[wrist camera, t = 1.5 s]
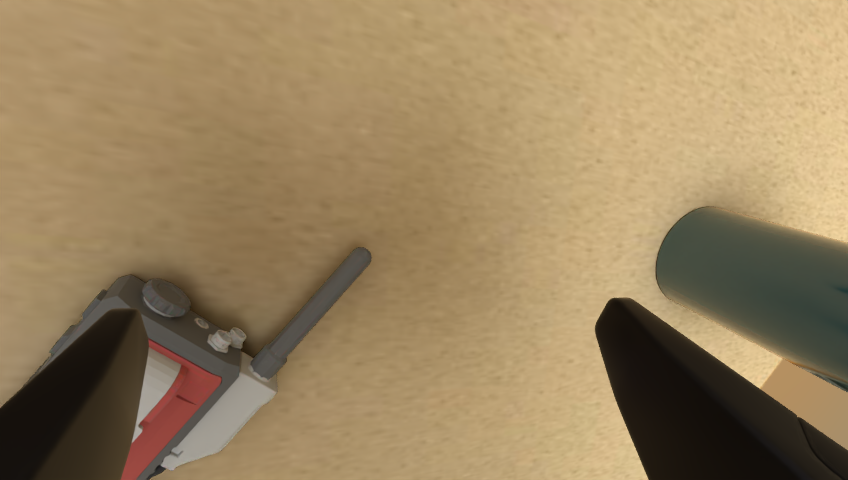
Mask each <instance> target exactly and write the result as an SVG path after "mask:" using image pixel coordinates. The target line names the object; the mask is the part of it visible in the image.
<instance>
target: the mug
mask: <svg viewBox="0 0 848 480" xmlns="http://www.w3.org/2000/svg"><path fill="white" fill-rule="evenodd" d="M656 275H657V281H658V284H659V287H660V289H661V290H662V292H663V293H664V294H665V296H666V297H668V298H669V299H670V300H672V301H674V302H676V303H678V304H680V305H682V306H684V307H686V308H687V309H689V310H691V311H693V312H695V313H697V314H699V315H701V316H703V317H705V318H707V319H708V320H710V321H712V322H714V323H716V324H718V325H720V326H722V327H724V328H726V329H728V330H729V331H731V332H733V333H735V334H737V335H739V336H741V337H743V338H745V339H747V340H749V341H750V342H752V343H754V344H756V345H758V346H760V347H762V348H764V349H766V350H768V351H770V352H771V353H773V354H775V355H777V356H779V357H781V358H783V359H785V360H787V361H789V362H791V363H792V364H795V365H796V366H798V367H800V368H802V369H804V370H806V371H808V372H810V373H812V374H814V375H816V376H817V377H819V378H821V379H823V380H825V381H827V382H829V383H831V384H833V385H835V386H836V387H838V388H840V389H842V390H844V391H846V392H848V243H847V242H844V241H840V240H836V239H832V238H829V237H825V236H821V235H818V234H814V233H810V232H807V231H803V230H799V229H795V228H792V227H788V226H784V225H781V224H777V223H773V222H770V221H766V220H762V219H758V218H755V217H751V216H747V215H744V214H740V213H736V212H733V211H729V210H725V209H721V208H717V207H703V208H699V209H696V210H694V211H692V212H690V213H689V214H687V215H685V216H684V217H683V218H682V219H680V220H679V221H678V222H677V223H676V224H675V225H674V227H673V228H672V229H671V230H670V232H669V233H668V234H667V236H666V238H665V240H664V241H663V244H662V246H661V248H660V251H659V254H658V259H657V265H656Z"/></svg>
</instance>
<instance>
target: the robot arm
mask: <svg viewBox="0 0 848 480" xmlns="http://www.w3.org/2000/svg"><path fill="white" fill-rule="evenodd" d="M595 333H596V337H597V341H598V344H599V347H600V351H601V354H602V357H603V361H604V364H605V367H606V371H607V374H608V377H609V380H610V384H611V387H612V390H613V393H614V396H615V399H616V402H617V404H618V407H619V409H620V412H621V414H622V417H623V419H624V422H625V424H626V426H627V429H628V431H629V434H630V436H631V438H632V441H633V443H634V446H635V448H636V450H637V453H638V455H639V458H640V460H641V462H642V465H643V467H644V470H645V472H646V474H647V477H648V479H649V480H848V450H846V449H845V448H843V447H842V446H841V445H839V444H837V443H836V442H835V441H833V440H832V439H830V438H829V437H827V436H826V435H824V434H823V433H822V432H820V431H819V430H817V429H816V428H814V427H813V426H812V425H810V424H809V423H807V422H806V421H805V420H803V419H802V418H799V417H797V415H796V414H794V413H793V412H792V411H790V410H788V408H786V407H785V406H783V405H782V404H780V403H779V402H778V401H776V400H774V399H773V398H772V397H770V396H769V395H768V394H766V393H765V392H763V391H762V390H761V389H759V388H758V387H756V386H755V385H753V384H752V383H751V382H749V381H748V380H746V379H745V378H744V377H742V376H741V375H739V374H738V373H736V372H735V371H734V370H732V369H731V368H729V367H728V366H727V365H725V364H724V363H722V362H721V361H719V360H718V359H717V358H715V357H714V356H712V355H711V354H710V353H708V352H707V351H705V350H704V349H702V348H701V347H700V346H698V345H697V344H695V343H694V342H692V341H691V340H690V339H688V338H687V337H685V336H684V335H683V334H681V333H680V332H678V331H677V330H675V329H674V328H673V327H671V326H670V325H668V324H667V323H666V322H664V321H663V320H661V319H660V318H658V317H657V316H656V315H654V314H653V313H651V312H650V311H649V310H647V309H646V308H644V307H643V306H641V305H640V304H639V303H637V302H636V301H634V300H633V299H631V298H612V299H610V300H609V301H608V303H607V304H606V306H605V308H604V310H603V311H602V313H601V315H600V317H599V319H598V320H597V322H596V326H595ZM148 352H149V340H148V336H147V333H146V329H145V326H144V323H143V319H142V316H141V313H140V311H139V310H138V309H136V308H114V309H111V310H109V311H107V312H106V313H105V314H104V315H102V316H101V317H100V318H99V319H98V320H97V321H96V322H95V323H94V324H92V325H91V326H90V327H89V328H88V329H87V330H86V331H85V332H84V333H83V334H81V335H80V336H79V337H78V338H77V339H76V340H75V341H74V342H73V343H71V344H70V345H69V346H68V347H67V348H66V349H65V350H64V351H63V352H61V353H60V354H59V355H58V356H57V357H56V358H55V359H54V360H53V361H52V362H50V363H49V364H48V365H47V366H46V367H45V368H44V369H43V370H42V371H40V372H39V373H38V374H37V375H36V376H35V377H34V378H33V379H32V380H31V381H29V382H28V383H27V384H26V385H25V386H24V387H23V388H22V389H21V390H19V391H18V392H17V393H16V394H15V395H14V396H13V397H12V398H11V399H9V400H8V401H7V402H6V403H5V404H4V405H3V406H2V407H1V408H0V480H121V477H122V474H123V471H124V467H125V464H126V461H127V458H128V454H129V451H130V447H131V444H132V440H133V436H134V431H135V426H136V421H137V415H138V409H139V404H140V398H141V392H142V387H143V381H144V375H145V369H146V364H147V358H148Z"/></svg>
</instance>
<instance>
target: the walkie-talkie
mask: <svg viewBox="0 0 848 480" xmlns="http://www.w3.org/2000/svg"><path fill="white" fill-rule="evenodd" d="M371 258H372V257H371V253H370V252H369V251H368V250H367V249H366V248H364V247H358V248H356V249H354V250H353V251H352V253H351V254H350V255H349V256H348V257H347V258H346V259H345V260H344V261H343V263H342V264H341V265H340V266H339V267H338V268H337V269H336V270H335V272H334V273H333V274H332V275H331V276H330V277H329V278H328V279H327V281H326V282H325V283H324V284H323V285H322V286H321V287H320V288H319V290H318V291H317V292H316V293H315V294H314V295H313V296H312V297H311V299H310V300H309V301H308V302H307V303H306V304H305V305H304V306H303V307H302V309H301V310H300V311H299V312H298V313H297V314H296V315H295V316H294V318H293V319H292V320H291V321H290V322H289V323H288V324H287V325H286V327H285V328H284V329H283V330H282V331H281V332H280V333H279V334H278V336H277V337H276V338H275V339H274V340H273V341H272V342H271V343H270V344H266V345H265V346H264V347H263V348H262V349H261V351H260V352H259V353H258V354H257V355H256V356H255V357H254V358H252V357H251V356H249V355H247V354H246V353H244V352H242V351H241V348H242V346H243V342H244V340H245V339H246V337H247V336H246V334H245V333H244V332H243V331H242V330H240V329H239V328H236V327H233V328H232V329H231V330H230V331H229V332H227V331H224V330H222V329H220V328H219V327H217V326H215V325H214V324H212V323H210V322H209V321H207V320H206V319H204V318H202V317H201V316H199V315H197V314H196V313H194V312H192V311H191V310H189V308H190V307H191V306H190V300H189V298H188V297H187V296H186V295H185V293H184V292H183V291H182V290H181V289H180V288H178V287H177V286H175V285H174V284H172V283H170V282H167V281H164V280H162V279H151V280H149V281H148V282H147V283H144V282H143V281H141V280H139V279H138V278H136V277H135V276H133V275H128V276H124V277H120V278H118V279H117V280H116V281H115V282H114V284H113V285H112V286H111V287H110V288H109V289H108V290H107V291H105V290H102V291H101V292H100V293H99V295H98V296H97V297H96V298H95V299H94V300H93V301H92V303H91V304H90V305H89V306H88V307H87V309H86V310H85V311H84V313H83V314H82V316H83V319H82V320H81V321H80V322H79V323H78V324H77V325H72V326H70V328H69V329H68V330H67V331H66V332H65V333H64V334H63V335H62V337H61V338H60V339H59V340H58V341H57V342H56V344H55V345H54V346H53V348H52V349H51V350H50V352H49V353H51V354H52V355H51V356H50V357H48V359H47V360H46V361H45V362H44V364H43V365H42V366H40V368H39V369H38V370H37V371H36V373H35V374H34V375H33V376H32V377H31V378H30V379H29V380H28V382H29V381H31V380H32V379H33V378H34V377H35V376H36V375H37V374H38V373H39V372H40V371H42V370H43V369H44V368H45V367H46V366H47V365H48V364H49V363H50V362H52V361H53V360H54V359H55V358H56V357H57V356H58V355H59V354H60V353H61V352H63V351H64V350H65V349H66V348H67V347H68V346H69V345H70V344H71V343H73V342H74V341H75V340H76V339H77V338H78V337H79V336H80V335H81V334H83V333H84V332H85V331H86V330H87V329H88V328H89V327H90V326H91V325H92V324H94V323H95V322H96V321H97V320H98V319H99V318H100V317H101V316H102V315H104V314H105V313H106V312H107V311H109V310H111V309H114V308H136V309H138V310H139V311H140V313H141V316H142V319H143V323H144V326H145V329H146V333H147V336H148V340H149V352H148V358H147V364H146V369H145V375H144V381H143V387H142V392H141V398H140V404H139V409H138V415H137V421H136V426H135V431H134V436H133V440H132V444H131V447H130V451H129V454H128V458H127V461H126V464H125V467H124V471H123V474H122V477H121V480H149V479H150V478H151V477H153V476H155V475H157V474H160V473H162V472H163V471H164V470H166V469H169V470H171V471H173V470H174V469H175V468H176V467H177V466H179V465H182V464H185V463H188V462H191V461H194V460H197V459H200V458H203V457H206V456H209V455H212V454H215V453H218V452H220V451H221V450H222V449H223V448H224V447H225V446H226V445H227V444H228V443H229V442H230V441H231V439H232V438H233V437H234V436H235V435H236V434H237V433H238V432H239V430H240V429H241V428H242V427H243V426H244V425H245V424H246V423H247V422H248V420H249V419H250V418H251V417H252V416H253V415H254V414H255V413H256V412H257V410H258V409H259V408H260V407H261V406H262V405H264V404H266V403H268V402H269V401H270V400H271V399H272V398H273V397H274V396H275V395H276V393H277V392H278V385H277V372H278V370H279V369H280V368H281V367H282V366H283V365H284V364H285V363H286V362H287V358H286V357H287V356H288V355H289V354H290V353H291V352H292V350H293V349H294V348H295V347H296V346H297V345H298V344H299V343H300V341H301V340H302V339H303V338H304V337H305V336H306V335H307V334H308V332H309V331H310V330H311V329H312V328H313V327H314V326H315V325H316V323H317V322H318V321H319V320H320V319H321V318H322V317H323V316H324V315H325V313H326V312H327V311H328V310H329V309H330V308H331V307H332V306H333V304H334V303H335V302H336V301H337V300H338V299H339V298H340V297H341V295H342V294H343V293H344V292H345V291H346V290H347V289H348V288H349V286H350V285H351V284H352V283H353V282H354V281H355V280H356V279H357V277H358V276H359V275H360V274H361V273H362V272H363V271H364V270H365V268H366V267H367V266H368V265H369V264H370V262H371ZM28 382H27V383H28ZM27 383H26V384H27ZM26 384H25V385H26ZM25 385H24V386H25ZM24 386H23V387H24ZM23 387H22V388H23ZM22 388H21V389H22Z"/></svg>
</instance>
